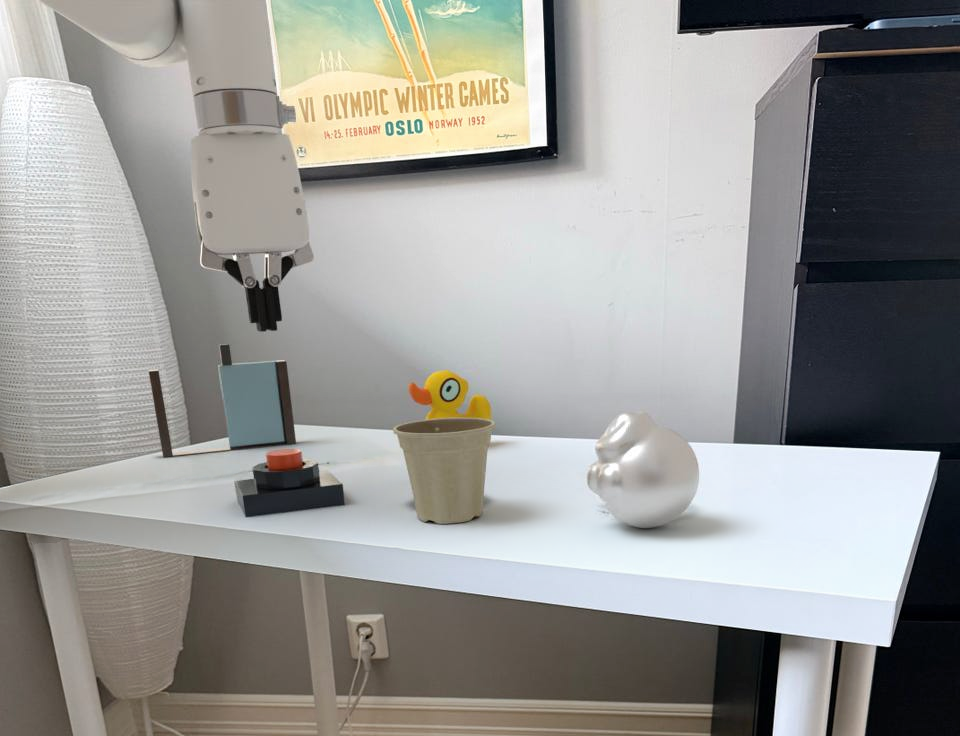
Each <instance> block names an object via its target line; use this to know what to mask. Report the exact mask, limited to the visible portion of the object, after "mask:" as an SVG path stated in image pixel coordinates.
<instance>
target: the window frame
mask: <svg viewBox="0 0 960 736" xmlns="http://www.w3.org/2000/svg"><path fill="white" fill-rule="evenodd" d="M273 361H274V362H275V368H276V376H277V384H278V393H279V401H280V409H281V417H282V425H283V433H284V442H274V443H264V444H254V445H244V446H234V447H231V446H230V440H229V433H228V426H227V419H226V412H225V405H224V398H223V391H222V385H221V378H220V371H219V366H220V365H221V364H218V365H217V369H218V370H217V371H218V377H219V384H220V390H221V397H222V404H223V411H224V417H225V423H226V424H225V425H226V430H227V431H226V432H227V438H228V445H229V447H218V448H209V449H199V450H190V451H179V452H173V448H172V443H171V435H170V430H169V423H168V418H167V411H166V405H165V401H164V394H163V388H162V383H161V377H160V376H161V375H160V371H159V369H148V377H149V384H150V389H151V395H152V401H153V406H154V412H155V418H156V424H157V431H158V436H159V442H160V447H161V453H162V458H163V459H164V458H173V457H174V458H175V457H183V456H193V455H194V456H195V455H203V454H205V455H206V454H214V453H222V452H224V453H225V452H232V451H234V452H235V451H243V450H254V449H263V448H264V449H265V448H272V447H273V448H274V447H283V446H291V445H292V446H293V445H297V440H296V430H295V421H294V414H293V404H292V396H291V388H290V379H289V371H288V364H287V362H288V361H287V360H285V359H279V360H277V359H276V360H267V361H264V362H273ZM260 362H261V361H253V362H251V363H260ZM247 363H248V362H239V363H237V364H247ZM233 364H234V363H232V365H233Z"/></svg>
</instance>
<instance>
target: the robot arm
mask: <svg viewBox="0 0 960 736" xmlns="http://www.w3.org/2000/svg"><path fill="white" fill-rule="evenodd" d="M37 1H38V2H40V3H41V4H42V5H44V6H46V7H47V8H49V9H51V10H52V11H54V12H55V13H57V14H58V15H60V16H62V17H63V18H65V19H67V20H68V21H70V22H72V24H74V25H76V26H78V27H79V28H81V29H82V30H84V31H85V32H87V33H88V34H90V35H92V36H93V37H94V38H96V39H97V40H99V41H100V42H102V43H104V44H105V45H107V46H108V47H109V48H111V49H112V50H114V52H116V53H117V54H119V55H120V56H122V57H123V58H125V59H126V60H128V61H129V62H130V63H133V64H134V65H137V66H140V67H144V68H149V69H157V68H159V69H160V68H165V67H171V66H175V65H178V64H179V65H180V64H182V63H186V62H187V64H188V73H189V78H190V85H191V91H192V97H193V106H194V113H195V118H196V126H197V132H198V135H197V136H193V137H192V138H191V139H190V155H189V156H190V176H191V188H192V190H191V191H192V199H193V207H194V215H195V216H194V217H195V225H196V230H197V237H198V242H199V245H200V258H199V259H200V260H199V263H200V266H201V267H203V268H204V269H208V270H213V271H219V272H224V273H227V274H228V275H229V276H230V277H231V278H232V279H234V280H235V281H236V282H237V283H239V285H241V287H242V288H244V290H245V291H244V292H245V298H246V306H247V312H248V319H249V323H250V324H255V325H256V326H255V327H256V331H257V332H259V333H260V332H261V333H263V332H267V331H270V332H275V331H278V324H277V323H278V322H283V316H282V308H281V299H280V293H279V286H280V285H281V283H282V281H283V280H284V279H285V277H287V275H288V274H289V272H290V271H291V270H292V269H293V268H297V267H300V266H304V265H306V264H308V263H312V261H314V259H315V257H314V252H313V250H312V247H311V243H310V241H309V240H310V228H309V227H310V226H309V219H308V213H307V206H306V200H305V196H304V189H303V185H302V180H301V175H300V170H299V167H298V162H297V158H296V155H295V151H294V147H293V144H292V141H291V138H290V135H289V134H286V133H283V130H282V129H283V128H284V125H287V124H288V123H296V121H297V115H296V113H297V112H296V108H295V105H287V104H285V103H284V104H283V101H282V100H281V99H280V95H278V89H277V81H276V72H275V64H274V56H273V47H272V39H271V30H270V29H271V28H270V21H269V14H268V13H269V12H268V6H267V5H268V4H267V0H37ZM292 251H294V252H292ZM285 252H286V253H287V252H292V253H290V254H286V255H284V256H282V253H285ZM255 254H256V255H257V254H264V278H263V280H262V281H261V282H262V287H260V281H259V280H258V279H257V278H256V275H255V270H254V267H253V263H252V261H251V257H250V255H255ZM223 256H232V258H227V257H223Z"/></svg>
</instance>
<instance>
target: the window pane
mask: <svg viewBox="0 0 960 736" xmlns="http://www.w3.org/2000/svg"><path fill="white" fill-rule="evenodd" d="M218 348H219V349H218V350H219V356H220V362H221V364H219V365H220V366H219V370H218V372H219V371H220V377H219V379H220V378H221V384H220V386H221V385H222V390H221V392H222V391H223V397H222V399H223V398H224V404H223V406H224V405H225V411H224V413H225V412H226V418H225V420H226V419H227V425H226V427H227V426H228V432H227V434H228V433H229V439H228V441H229V440H230V446H231V447H234V446H244V445H254V444H264V443H274V442H284V433H283V425H282V417H281V409H280V401H279V393H278V384H277V376H276V368H275V362H274V361H275V360H272V361H273V362H265V361H259V362H260V363H252V362H246V363H247V364H238V363H233V362H232V353H231V345H230V344H229V343H222V344H221V343H220V344H218ZM232 364H233V365H232ZM230 446H229V447H230Z"/></svg>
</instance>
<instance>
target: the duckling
mask: <svg viewBox="0 0 960 736" xmlns="http://www.w3.org/2000/svg"><path fill="white" fill-rule="evenodd" d="M469 386H470V385H469V382H468V381H467V380H466V379H465V378H463V377H461V376H460V375H458V374H457V373H455V372H453V371H451V370H449V369H448V370H447V369H445V370H438V371H435V372H433V373H432V374H430V375H429V376H428V377H427V378H426V380H425V382H424V388H421V387H419V386H417V384H416V383H415V382H410V383H409V385H408V392H409V395H410V397H411V399H412V400H413V401H414V402H415V403H417V404H419V405H421V406H430V408H431V410H430V411H429V412H428V414H427V415H426V417H425V419H424V420H429V419H438V418H482V419H489V420H492V407H491V404H490V402H489V401H488V399H487V398H486V397H485V396H484V395H482V394H477V393H476V394H474V395H473V396H472V397H471V399H470V401H469V404H468V406H467V407H468V408H467V411H466V412H464V413H462V414H461V413H459V412H458V411H457V409H458V408H460V407H461V406H462V405H463V403H464V402H465V400H466V397H467V394H468V392H469V388H470V387H469Z"/></svg>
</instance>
